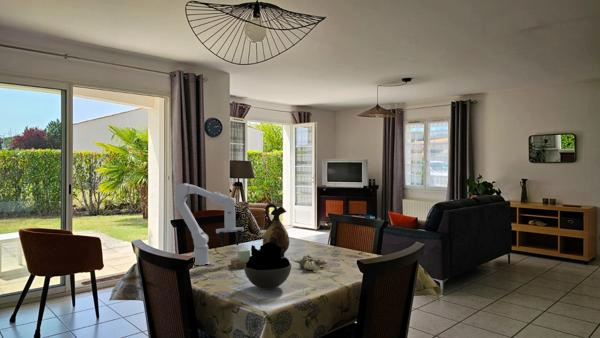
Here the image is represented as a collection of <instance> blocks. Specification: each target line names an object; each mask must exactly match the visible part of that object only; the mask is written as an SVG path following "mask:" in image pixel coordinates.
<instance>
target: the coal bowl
mask: <svg viewBox="0 0 600 338" xmlns="http://www.w3.org/2000/svg"><path fill="white" fill-rule="evenodd" d="M259 247H260V248H259V249H258V248H256V246H255V245H253V244H252V245H251V247H250V258H249V261H248V262H247V263H246V264H245V265H244V268H243V270H244V273H245V276H246V278H247V279H248V281H249V283H251V284H252V285H253V286H255V287H257V288H260V289H262V290H272V289H275V288H278V287H280V286H281V285H283V284H284V283H285V282H286V281H287V279H288V278H289V277H290V274H291V271H292V263H291V261H290V260H289V259H288V258H287V257H286V256H284V257H281V253H280V252H281V247H280V246H277V245H275V244H273V243H270V242H268V243H265V244H264V245H263V244H262V245H260V246H259Z"/></svg>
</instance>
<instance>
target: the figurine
mask: <svg viewBox="0 0 600 338" xmlns="http://www.w3.org/2000/svg"><path fill="white" fill-rule="evenodd" d="M290 260H291V261H293V262H295V263H297V264H298V265H299V266H300V267H302V268H304V270H307V271H308V270H309V271H321V270H323V269H322V266H324V267H327V268H330V265H331V263H332V262H330V261H326V260H323V259H322V260H321V259H319V258H315V257H313V256H311V255H310V254H306V255H303V256H302V258H301V259H300V260H294V259H292V258H291V259H290ZM329 263H330V264H329ZM327 264H329V266H328V265H327ZM320 266H321V267H320Z"/></svg>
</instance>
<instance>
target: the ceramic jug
mask: <svg viewBox="0 0 600 338" xmlns="http://www.w3.org/2000/svg"><path fill="white" fill-rule="evenodd" d="M270 208H273V209H272V211H271V212H270V214H269V209H270ZM264 211H265V216H266V219H267V225H266V230H265V232H264V234H263V237H262V245H264V244H265V243H268V242H270V243H273V244H275V245H277V246H280V247H281V252H280V253H281V257H280V258H284V257H285V253H286V252H288V251H287V250H288V249H289V246H290V236H289V234H288V231H287V229H286V228H285V226H284V224H283V223H282V221H281V219H280V216H281V215H283V214H285V213H287V210H286V209H285V208H284V207H283V206H282V205H281V206H279V207H277V205H276V204H274V203H267V204H266V206H265V208H264ZM270 215H272V216H273V217H272V219H271V216H270Z"/></svg>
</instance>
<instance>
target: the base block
mask: <svg viewBox="0 0 600 338" xmlns="http://www.w3.org/2000/svg"><path fill="white" fill-rule="evenodd" d="M248 261H249V260H248ZM248 261H240V260H238V257H235V258H233V257H232V258H230V265H231V266H232V268H235V269H236V270H239V269H244V265H245V264H246V263H247V262H248Z"/></svg>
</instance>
